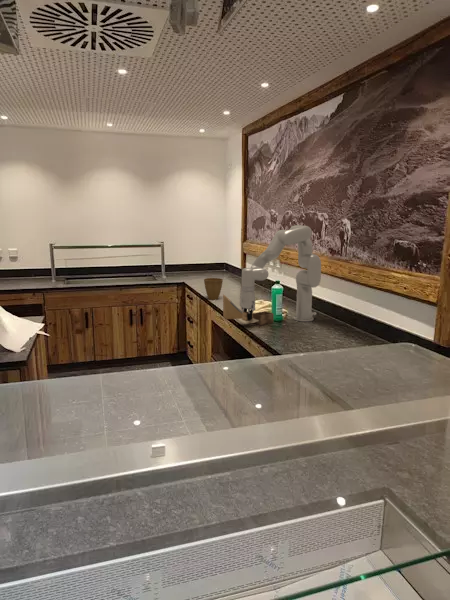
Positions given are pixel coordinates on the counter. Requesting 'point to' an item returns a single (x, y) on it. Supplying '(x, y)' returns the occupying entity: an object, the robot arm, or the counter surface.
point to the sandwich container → (230, 309)
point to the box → (263, 318)
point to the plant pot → (213, 287)
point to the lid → (244, 319)
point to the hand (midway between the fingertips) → (247, 318)
